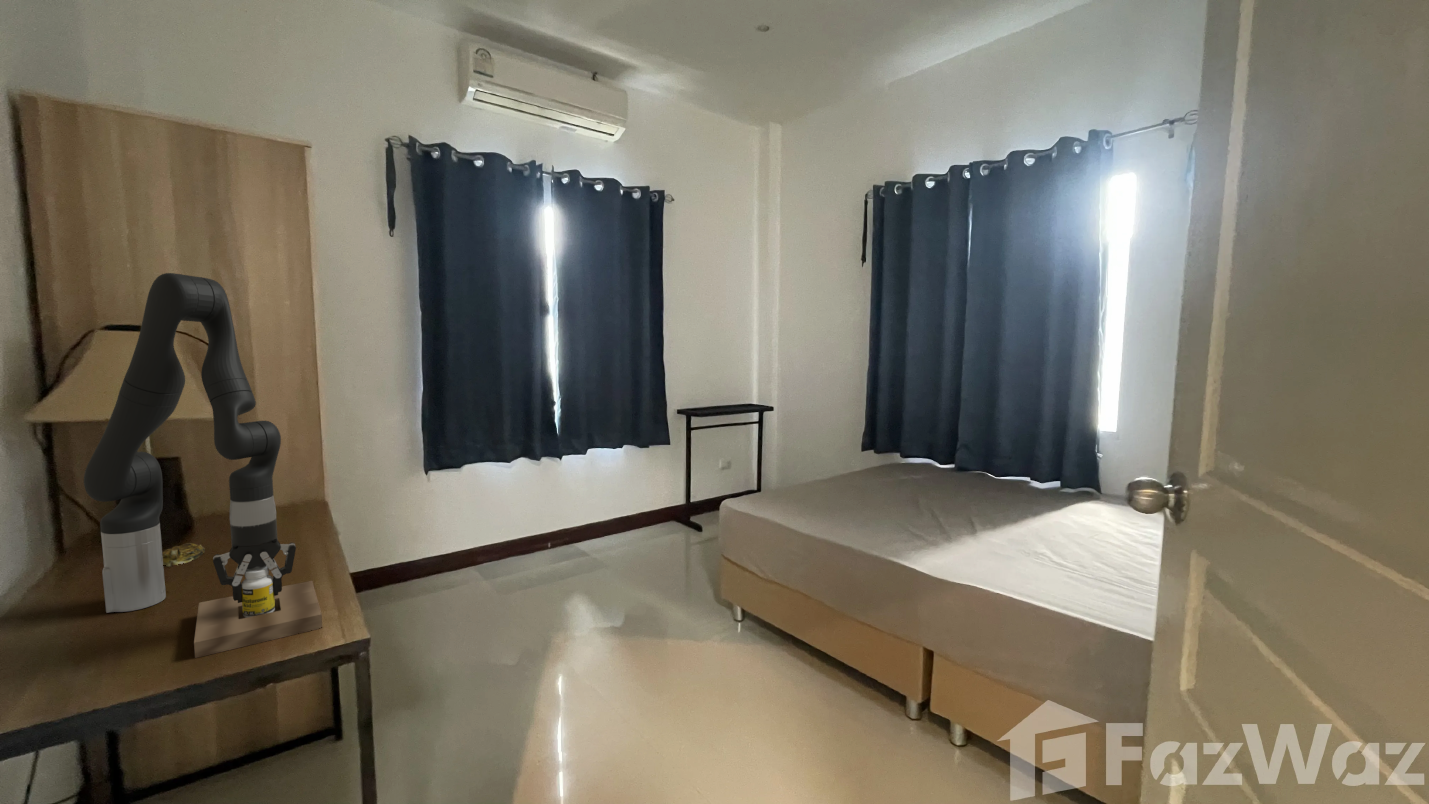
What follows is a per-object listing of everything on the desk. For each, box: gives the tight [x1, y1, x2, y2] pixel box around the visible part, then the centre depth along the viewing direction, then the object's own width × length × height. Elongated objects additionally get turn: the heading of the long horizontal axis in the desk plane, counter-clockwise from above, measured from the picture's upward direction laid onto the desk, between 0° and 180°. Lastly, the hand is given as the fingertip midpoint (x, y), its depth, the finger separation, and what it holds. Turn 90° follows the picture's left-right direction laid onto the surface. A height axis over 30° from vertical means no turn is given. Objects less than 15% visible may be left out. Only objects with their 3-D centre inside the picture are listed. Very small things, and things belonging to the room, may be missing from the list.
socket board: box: [193, 580, 323, 659], centre depth 127 cm, size 20×20×3 cm
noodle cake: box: [162, 542, 206, 567], centre depth 160 cm, size 9×5×15 cm
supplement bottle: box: [241, 565, 275, 618], centre depth 126 cm, size 5×5×10 cm
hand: (258, 597), depth 126 cm, fingers closed on supplement bottle, 5 cm apart
